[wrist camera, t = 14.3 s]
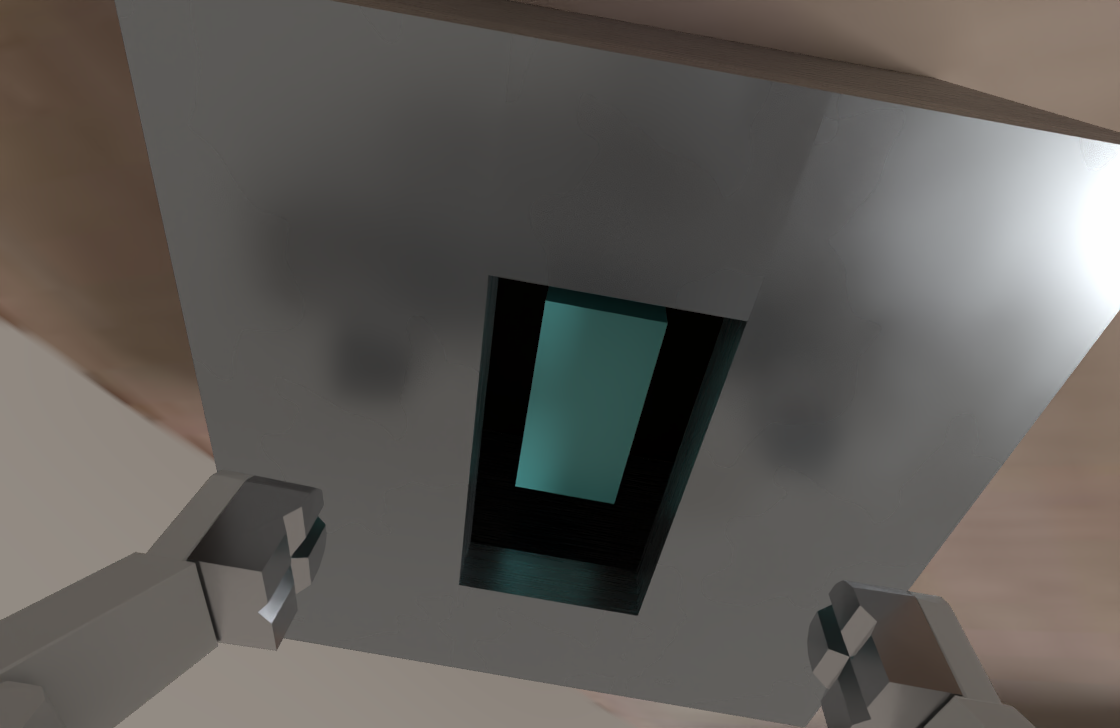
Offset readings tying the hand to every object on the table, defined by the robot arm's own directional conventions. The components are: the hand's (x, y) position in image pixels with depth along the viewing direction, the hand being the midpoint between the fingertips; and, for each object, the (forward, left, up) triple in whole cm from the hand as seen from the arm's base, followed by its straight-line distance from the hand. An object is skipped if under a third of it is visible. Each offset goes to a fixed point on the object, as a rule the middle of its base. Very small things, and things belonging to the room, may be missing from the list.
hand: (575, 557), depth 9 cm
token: (0, 0, -10) cm, 10 cm away
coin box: (0, 0, -10) cm, 10 cm away
